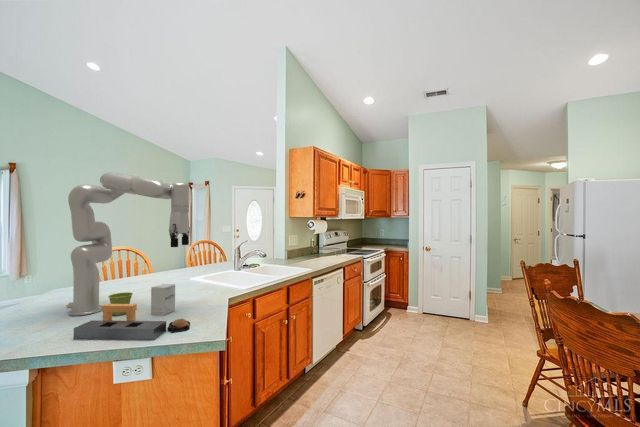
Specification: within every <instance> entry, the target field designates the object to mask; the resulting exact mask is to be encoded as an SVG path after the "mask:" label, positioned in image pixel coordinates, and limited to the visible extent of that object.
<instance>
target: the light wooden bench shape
mask: <svg viewBox="0 0 640 427" xmlns="http://www.w3.org/2000/svg"><path fill="white" fill-rule="evenodd" d="M101 306H102V310H101V313H102V321H113V314H112V312H127V313H126V321H136V311H137V310H138V305H137V303H130V304H111V303H105V304H103V305H101Z"/></svg>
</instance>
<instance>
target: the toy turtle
mask: <svg viewBox="0 0 640 427" xmlns="http://www.w3.org/2000/svg"><path fill="white" fill-rule="evenodd" d="M190 326H191V322H190V321H189V320H187V319H185V318H177V319H175V320H173V321H171V322H169V324H168V326H167V327H166V331H167V332H168V333H170V334H176V333H182V332H183V333H185V332H187V331H190V329H191V328H190Z"/></svg>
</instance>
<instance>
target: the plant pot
mask: <svg viewBox="0 0 640 427" xmlns="http://www.w3.org/2000/svg"><path fill="white" fill-rule="evenodd" d="M132 296H133V292H130V291H129V292H127V291H126V292H118V293H112V294H110V295H108V296H107V298H108V299H109V301H110V304H131V298H132ZM124 314H126V315H127V312H112V316H123V315H124Z"/></svg>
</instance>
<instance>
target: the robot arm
mask: <svg viewBox="0 0 640 427" xmlns="http://www.w3.org/2000/svg"><path fill="white" fill-rule="evenodd" d="M99 183H100V185H94V184H80V185H77V186H75V187H73V188H72V189H71V190H70V192H69V194H68V198H67V200H68V201H67V202H68V206H69V210H70V215H71V216H70V217H71V227H72V228H71V229H72V235H73V236H72V237H73V238H74V240H75V241H77V242H79V243H88V242H91V243H90V244H83V245H79V246H76V247H75V248H73V250H72V251H71V253H70V261H71V265H72V270H73V273H72V274H73V276H72V277H73V278H72V280H73V286H72V287H73V288H72V289H73V292H72V293H73V299H72V300H73V301H72V302H69V303H68V304H66V308H67V309H70V310H69V312H68V315H70V316H72V317H77V316H86V315H87V316H88V315H91V314H96V313H99V312H102V305H100V270H99V268H98V266H97V264H98V263H103V262H106V261H108V260H109V259H110V258H111V257H112V254H113V243H112V235H111V229H110V227H109V226H108V225H107V224H106V223H105V222H103V221H96V220H95V212H94V209H93V208H92V206H91V205H90V204H103V205H104V204H105V205H106V204H109V203H112V202H114V201H115V200H117V199H118V198H120V197H121V196H123V195H125V194H130V195H137V196H142V197H149V198H154V199H163V200H170V202H171V203H170V206H171V207H170V216H169V227H168V232H169V234H168V235H169V239H170V247H171V248H178V247H179V234H180V235H182V236H181V246H189V243H190V233H191V232H190V231H191V227H190V218H189V213H190V212H189V211H190V186H189V184H188V183H186V182H185V183H184V182H183V183H182V182H174V183H167V182H162V181H157V180H151V179H146V178H140V177H139V176H134V175H129V174H124V173H119V172H113V171H111V172H110V171H108V172H105V173H103V174H102V175H101V176H100V177H99Z"/></svg>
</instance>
